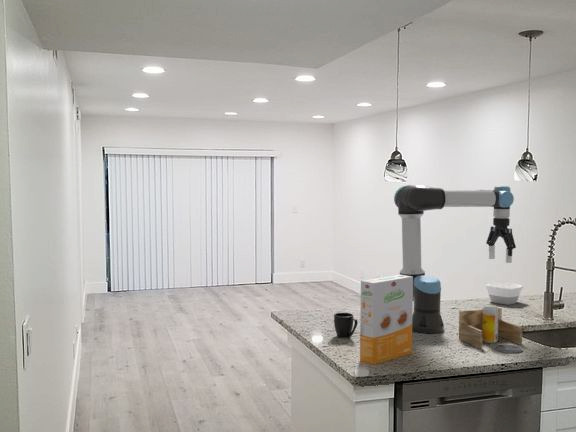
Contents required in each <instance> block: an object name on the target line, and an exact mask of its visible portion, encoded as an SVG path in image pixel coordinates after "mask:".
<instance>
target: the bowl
mask: <svg viewBox="0 0 576 432" xmlns="http://www.w3.org/2000/svg"><path fill="white" fill-rule="evenodd" d="M485 287H486V291H487V293H488V296H489V298H490V302H492V303H496V304H500V305H514V304H516V303H518V300H519V297H520V295H521V292H522V290H523V287H524V286H523V285H521V284H518V283H517V284H516V283H512V282H500V281H499V282H498V281H497V282H495V281H494V282H489V283H487V284H486V285H485Z"/></svg>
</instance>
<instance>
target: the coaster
mask: <svg viewBox="0 0 576 432" xmlns="http://www.w3.org/2000/svg"><path fill="white" fill-rule="evenodd" d="M495 350H497V351H499V352H502V353H506V352H507V353H506V354H508V353H509V354H520V353H522V352H523V348H522V347H520V346H518V345H513V344H497V345H495Z"/></svg>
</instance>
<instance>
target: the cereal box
mask: <svg viewBox="0 0 576 432" xmlns="http://www.w3.org/2000/svg"><path fill="white" fill-rule="evenodd" d="M413 310H414V301H413V277H412V276H406V275H400V274H396V275H389V276H383V277H376V278H371V279H364V280H360V314H359V315H360V321H359V322H360V324H359V325H360V327H359V329H360V330H359V332H360V333H359V336H360V337H359V339H360V341H359V360H360V362H363V363H367V364H370V365H376V364H380V363H382V362H385V361H389V360H392V359H396V358H399V357H402V356H406V355H410V354H412V353H413V351H412V350H413V330H412V315H413Z"/></svg>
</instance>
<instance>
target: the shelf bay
mask: <svg viewBox="0 0 576 432" xmlns="http://www.w3.org/2000/svg"><path fill="white" fill-rule="evenodd" d="M502 310H503V309H502V307H498V337H501V338H503V339H505V340H508V341H510V342H512V343H515V344H518V345H522V344H523V327H522V326H520V325H517V324H515V323H512V322H509V321H506V320H503V319H502V315H503V313H502V312H503V311H502ZM482 326H483V308H482V309H480V308H478V309H467V310H459V313H458V339H459V340H461V341H463V342H465V343H468V344H470V345H472V346H474V347H476V348H477V349H482V348H483V339H482V335H483V331H482Z"/></svg>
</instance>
